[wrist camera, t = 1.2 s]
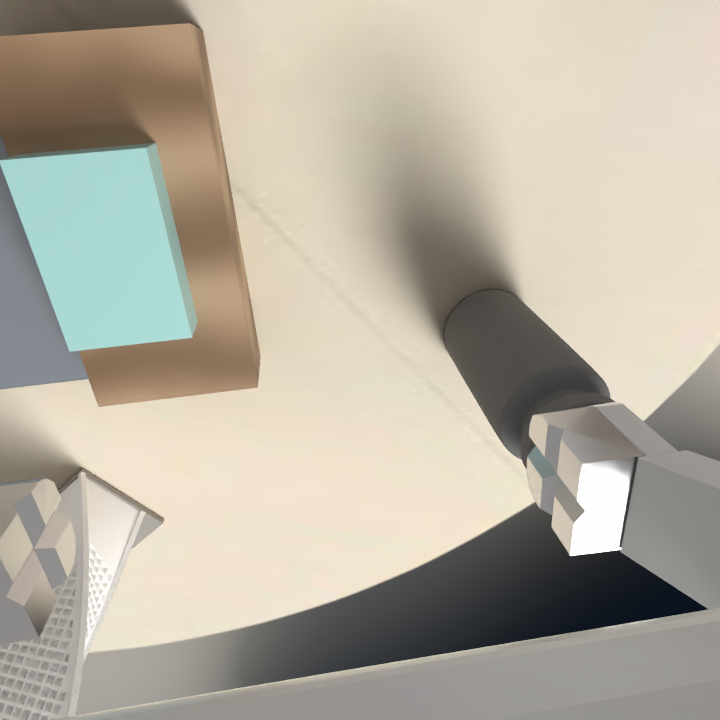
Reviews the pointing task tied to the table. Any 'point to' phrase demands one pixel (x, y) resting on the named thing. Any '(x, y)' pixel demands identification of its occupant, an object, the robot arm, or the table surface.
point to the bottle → (517, 366)
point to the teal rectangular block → (104, 243)
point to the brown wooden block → (181, 173)
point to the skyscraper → (74, 601)
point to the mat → (27, 310)
